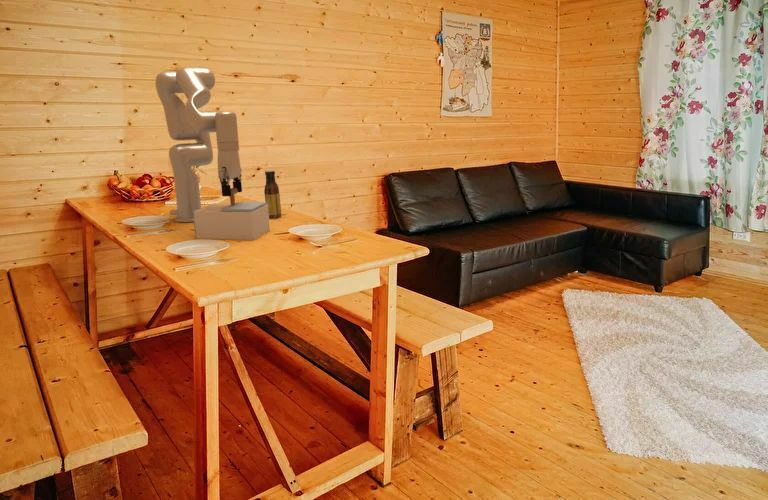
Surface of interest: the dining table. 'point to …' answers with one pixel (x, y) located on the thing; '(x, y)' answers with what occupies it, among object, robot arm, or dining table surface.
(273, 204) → the sauce bottle
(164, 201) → the dining table surface
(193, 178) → the robot arm
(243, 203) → the flap
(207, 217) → the carton
